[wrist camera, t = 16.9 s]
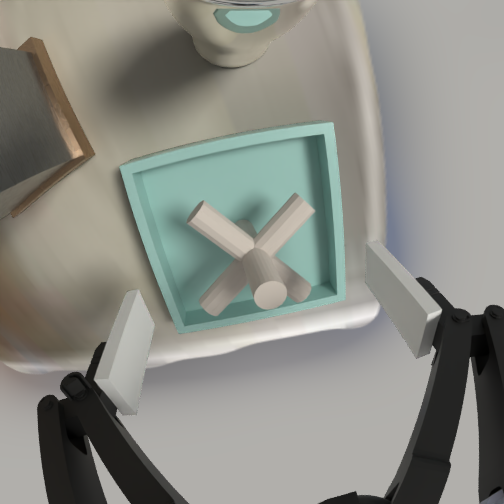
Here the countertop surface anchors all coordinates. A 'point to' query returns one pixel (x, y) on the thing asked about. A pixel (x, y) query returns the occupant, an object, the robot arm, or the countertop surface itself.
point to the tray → (239, 215)
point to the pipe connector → (253, 256)
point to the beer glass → (236, 26)
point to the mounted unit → (34, 128)
